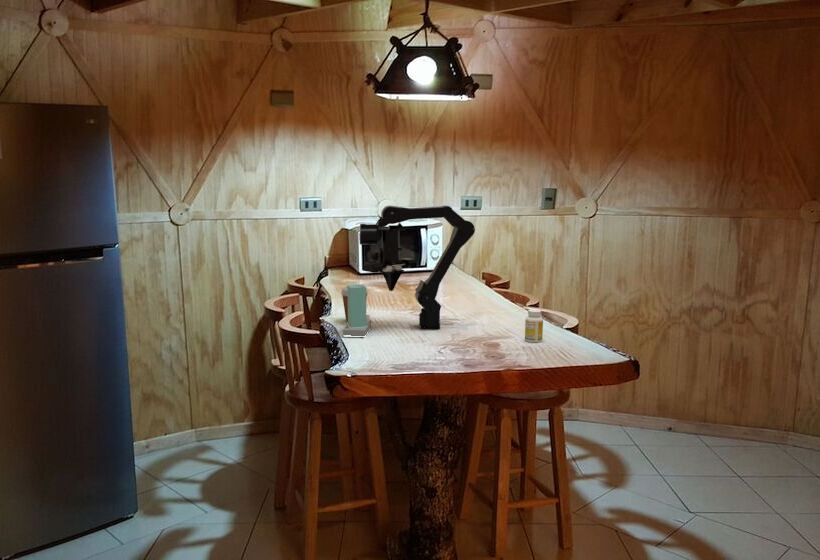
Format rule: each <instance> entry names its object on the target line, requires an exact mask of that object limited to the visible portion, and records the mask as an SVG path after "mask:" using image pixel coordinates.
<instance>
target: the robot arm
mask: <svg viewBox="0 0 820 560" xmlns="http://www.w3.org/2000/svg"><path fill="white" fill-rule="evenodd" d="M439 218H441V219H443V218H444V219H445V221H446V222H447V223H448V224H449V225H450V226H451V227H452V231H451V235H450V237H449V241H448V243H447V244H446V245H447V246H446V247H445V248H444V251H443V253H442V254H441V256H440V257H439V259H438V261H437V263H436V265H435V266H434V268H433V270H432V271H431V273H430V275H429V276H428V278H426V280H425V281H424V280H422V279H420V281H419V283H418V286H417V287H416V288H415V289H414V290H415V292H414V293H415V294H414V298H415V300H416V301H417V302H418V305H420V307H421V309H420V313H419V315H418V317H419V318H418V319H419V321H418V322H419V325H418V326H419V327H420V328H421V330H422V329H423V330H440V329H441V308H442V305H441V304H440V302H438V301H437V299H436V298H437V296H438V291H439V286H440V284H441V283H442V281H443V279H444V277H445V275H446V273H447V272H448V270H449V268H450V267H451V265H452V263H453V262H454V260H455V258H456V257H457V255H458V253H459V251H461V250H460V249H461V248H462V247H464V245H466V244H467V242H469V240H470V239H471V238H472V237H473V235H475V231H476V228H475V225H474V223H473V222H472V221H469V220H465V219H464V218H463V217H462V216H461V215H459V214H458V213H457V212H456V211H455V210H454V209H453V208H452V206H450V205H440V206H422V207H404V206H396V205H386V206H384V207H383V208H382V210H381V213H380V218H378V220H377V221H376V223H370V224H369V223H368V224H367V223H360V224H359V233H358V234H359V235H358V240H359V245H378V243H379V242H381V246H379V248H378V250H379V251H378V252H375V250H369V251H367V261H366V262H365V263H364V264H363V272H368V273H374V274H376V273H381V274H382V276H383V278H384V280H385V283H386V285H387V289H388V291H390V292H393V291H394V289H395V288H396V286H397V283H398V281H399V279H400V278H401V275H402V274H403V273H404V272H405V269H403V268H402V267H409V269H414V268H415V269H417V268H418V261H417V259H415V258H410V257H404V258H400V251H402V250H403V248H402V246H400V231H405V230H406V228H405V227H404V226H403V225H402V222H406V221H411V220H422V219H439ZM387 226H388V227H387ZM386 227H387V228H386Z"/></svg>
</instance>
